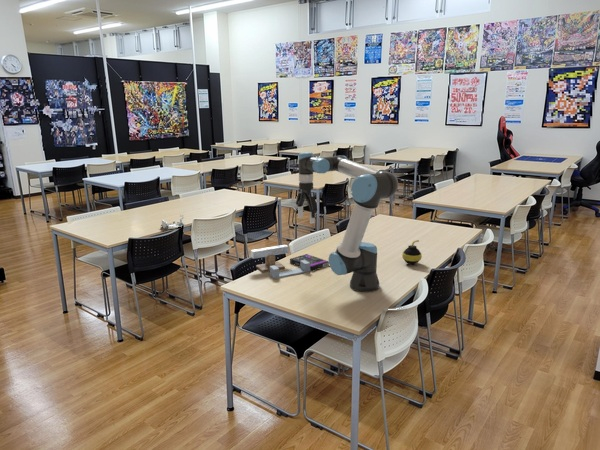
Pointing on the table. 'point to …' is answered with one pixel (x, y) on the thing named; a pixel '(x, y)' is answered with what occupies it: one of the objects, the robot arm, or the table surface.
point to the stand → (269, 264)
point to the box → (310, 261)
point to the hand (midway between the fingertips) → (306, 220)
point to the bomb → (412, 254)
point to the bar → (269, 251)
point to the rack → (303, 269)
